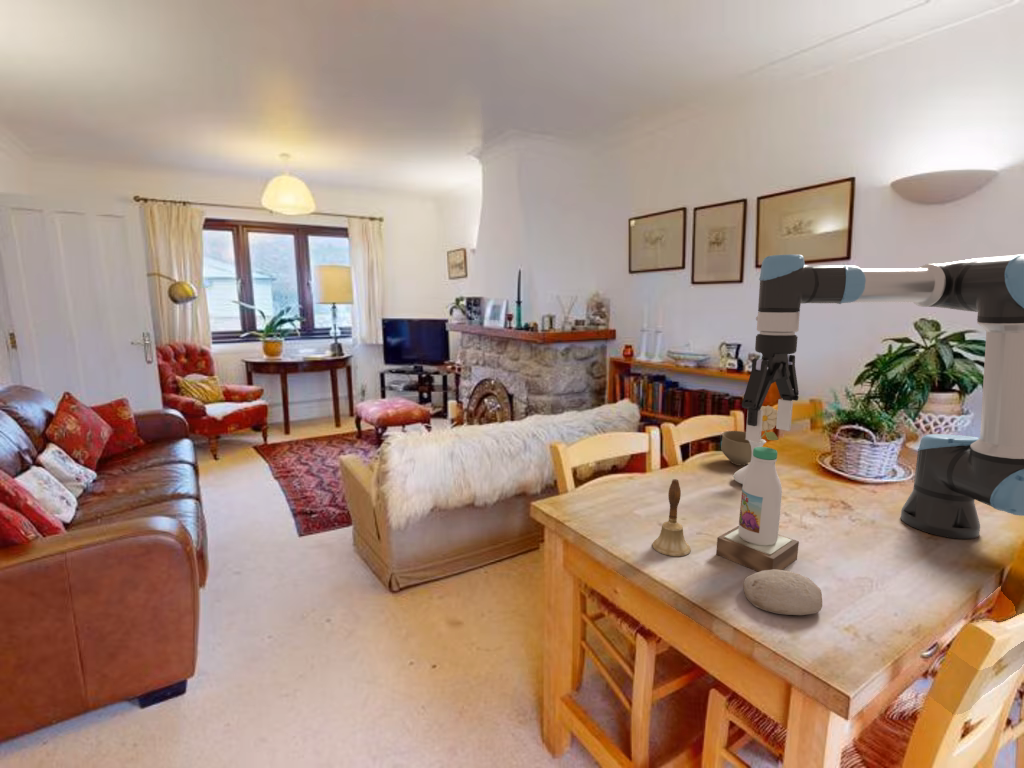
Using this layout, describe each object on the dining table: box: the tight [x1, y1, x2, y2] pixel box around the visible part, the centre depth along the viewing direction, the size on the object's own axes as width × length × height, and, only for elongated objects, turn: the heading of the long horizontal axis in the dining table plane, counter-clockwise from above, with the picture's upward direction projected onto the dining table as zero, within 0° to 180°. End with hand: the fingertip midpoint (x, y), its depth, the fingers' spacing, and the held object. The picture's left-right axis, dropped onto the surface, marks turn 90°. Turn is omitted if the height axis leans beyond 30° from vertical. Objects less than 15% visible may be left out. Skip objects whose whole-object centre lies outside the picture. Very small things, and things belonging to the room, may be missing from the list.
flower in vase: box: [732, 405, 779, 485], centre depth 153 cm, size 13×11×25 cm
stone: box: [742, 569, 823, 616], centre depth 95 cm, size 13×10×8 cm
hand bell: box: [651, 478, 692, 557], centre depth 114 cm, size 8×8×16 cm
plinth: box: [716, 525, 800, 572], centre depth 111 cm, size 12×12×4 cm
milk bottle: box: [738, 446, 783, 546], centre depth 109 cm, size 8×8×20 cm
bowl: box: [720, 430, 763, 466], centre depth 174 cm, size 13×13×10 cm
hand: (768, 435), depth 107 cm, fingers open, 13 cm apart
